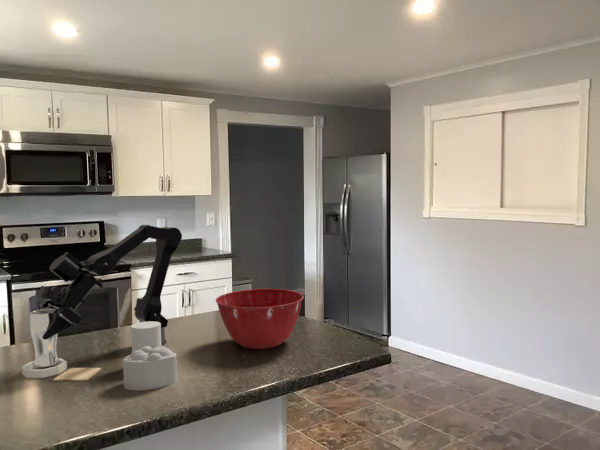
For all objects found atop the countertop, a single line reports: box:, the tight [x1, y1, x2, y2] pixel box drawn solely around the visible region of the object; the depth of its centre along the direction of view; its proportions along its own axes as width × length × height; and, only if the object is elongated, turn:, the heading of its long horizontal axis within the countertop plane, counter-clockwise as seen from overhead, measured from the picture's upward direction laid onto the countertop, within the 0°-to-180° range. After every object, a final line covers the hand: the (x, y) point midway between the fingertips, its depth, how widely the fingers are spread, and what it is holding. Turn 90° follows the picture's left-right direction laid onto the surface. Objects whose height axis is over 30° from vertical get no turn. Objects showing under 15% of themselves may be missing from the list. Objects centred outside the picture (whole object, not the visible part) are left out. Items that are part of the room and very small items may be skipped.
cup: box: [130, 321, 162, 353], centre depth 147 cm, size 8×8×12 cm
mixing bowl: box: [215, 288, 305, 350], centre depth 167 cm, size 28×28×16 cm
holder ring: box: [21, 357, 68, 379], centre depth 144 cm, size 11×11×2 cm
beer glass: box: [29, 308, 59, 368], centre depth 144 cm, size 7×7×15 cm
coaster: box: [52, 367, 102, 382], centre depth 141 cm, size 9×9×1 cm
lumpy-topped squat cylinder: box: [122, 345, 178, 391], centre depth 134 cm, size 10×13×9 cm
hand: (39, 336), depth 143 cm, fingers closed on beer glass, 6 cm apart
